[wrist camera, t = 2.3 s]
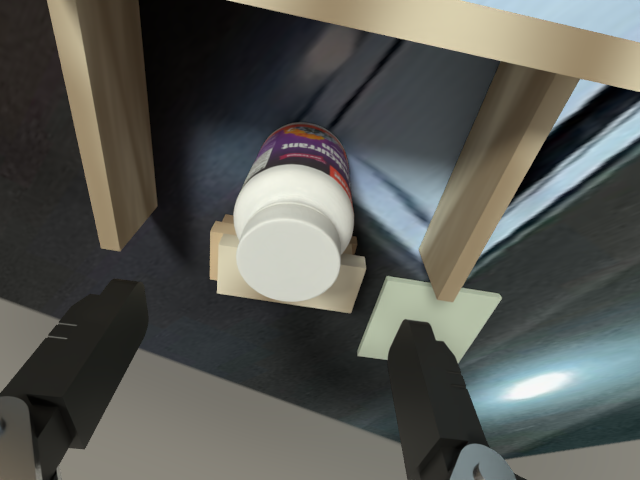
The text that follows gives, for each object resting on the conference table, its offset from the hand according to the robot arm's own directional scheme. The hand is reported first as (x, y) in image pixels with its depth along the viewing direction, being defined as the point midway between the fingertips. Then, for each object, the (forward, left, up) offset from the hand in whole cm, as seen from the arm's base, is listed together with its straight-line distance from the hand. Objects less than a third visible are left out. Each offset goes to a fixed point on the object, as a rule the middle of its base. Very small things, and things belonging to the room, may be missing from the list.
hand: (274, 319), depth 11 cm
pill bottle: (0, 0, -13) cm, 13 cm away
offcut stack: (0, +6, -13) cm, 14 cm away
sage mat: (-12, +12, -12) cm, 21 cm away
